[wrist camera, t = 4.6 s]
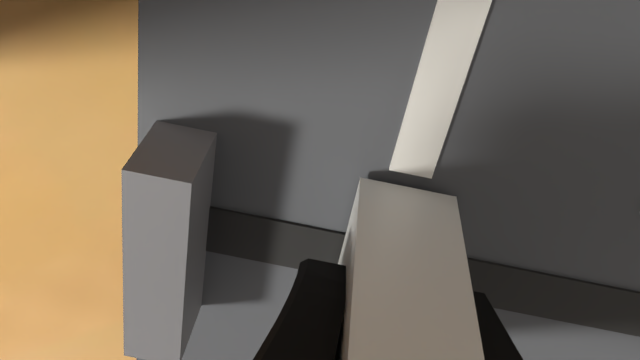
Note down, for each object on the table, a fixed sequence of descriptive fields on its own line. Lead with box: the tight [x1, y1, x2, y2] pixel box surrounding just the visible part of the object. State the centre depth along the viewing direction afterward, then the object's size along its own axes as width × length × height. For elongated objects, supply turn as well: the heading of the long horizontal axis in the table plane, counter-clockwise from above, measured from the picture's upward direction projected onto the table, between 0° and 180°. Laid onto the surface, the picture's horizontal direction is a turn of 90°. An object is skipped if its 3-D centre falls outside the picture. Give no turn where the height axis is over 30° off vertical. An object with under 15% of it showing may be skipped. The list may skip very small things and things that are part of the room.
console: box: [122, 0, 640, 360], centre depth 11 cm, size 16×16×4 cm
